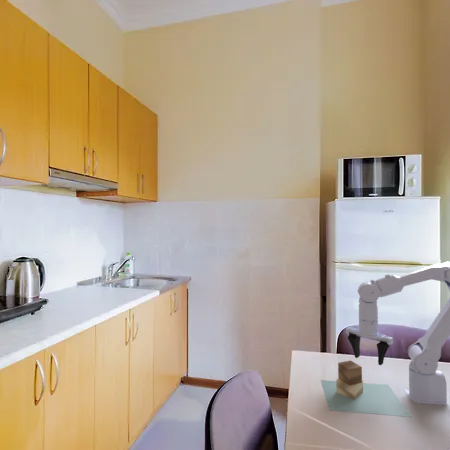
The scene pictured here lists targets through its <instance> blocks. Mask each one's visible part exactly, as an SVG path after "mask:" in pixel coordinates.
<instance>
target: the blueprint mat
mask: <svg viewBox="0 0 450 450" xmlns="http://www.w3.org/2000/svg"><path fill="white" fill-rule="evenodd" d="M320 382H321V386H322V388H323V392H324V394H325V395H324V396H325V400H326V402H327V405H328V408H329V411H335V412H345V413H347V412H348V413H359V414H369V415H370V414H372V415H380V416H381V415H382V416H395V417H407V418H412V415H411V414H410V412H409V411H408V410H407V409H406V407H405V406H404V405H403V403H402V401H401V400H400V398H398V396H397V395H396V393H395V391H393V389H392V387H391V386H390V385H389V384H385V383H384V384H383V383H382V384H381V383H370V382H369V383H367V382H363V393H362V394H361V395H360V396H359V397H358V398H356V399H355V400H354V399H352V398H349V397H347V396H344V395H342V394H339V393H337V392H336V380H323V379H321V380H320Z"/></svg>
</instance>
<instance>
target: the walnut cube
mask: <svg viewBox="0 0 450 450" xmlns="http://www.w3.org/2000/svg"><path fill="white" fill-rule="evenodd" d="M337 364H338V366H337V369H338V370H337V371H338V372H337V375H338V377H337V379H338V378H339V379H340V380H342V381H343V382H345V383H346V384H348V385H353V384H358V383H362V380H363V370H362V369H363V367H362V366H361V365H360V364H358V363H356V362H354V361H352V360H351V359H350V360H346V361H341V362H338V363H337Z"/></svg>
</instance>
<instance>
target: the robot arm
mask: <svg viewBox="0 0 450 450" xmlns="http://www.w3.org/2000/svg"><path fill="white" fill-rule="evenodd" d="M430 280H434V281H437V282H444V283H445V284H446V286H447V289H448V290H449V292H450V261H444V262H442V263H435V264H432V265H430V266H426V267H423V268H420V269H418V270H415V271H412V272H409V273H407V274H406V273H405V274H403V275H401V276H397V275H396V274H391V275H390V274H389V273H387V274H385V275H384V277H382V278H378V279H370V282H368V281H367V282H366V281H365V282H363V283H360V285H359V286H358V289H357V293H358V295H359V298H358V299H359V300H358V302H359V303H358V328H356V327H349V326H348V327H346V328H345V334H347V335H348V336H347V339H348V341H349V343H350V345H351V348H352V351H353V354H354V358H356V359H358V358H359V357H360V354H361V350H360V347H361V346H360V345H361V344H360V343H361V338H365V339H369V340H373V341H376V342H378V343H377V344H376V348H377V355H378V356H377V358H378V360H377V361H378V362H377V363H378V366H382V365H383V364H384V361H385V355H386V353H387V351H388V349H389V347H391V346H392V345H393V343H394V337H391V336H389V335H386V334H383V333H380V332H379V320H378V319H379V317H378V316H379V313H378V311H379V308H378V300H379V298H385V297H387V296H392V295H395V294H398V293H401V292H402V291H403V289H404V287H407V286H412V285H415V284H419V283H422V282H426V281H430ZM449 338H450V297H448V299H447V301H446V302H445V303H444V305H443V307H442V308H441V310H440V311H439V313H438V314H437V316H436V317H435V319H434V320H433V321H432V324H431V325H430V326H429V328H428V329H427V330H426V332H425V334H424V335H422V337H420V338H418V339H417V341H415V342H414V343H412V344H411V345H409V347H408V348H407V354H408V358H409V359H411V361H410V363H409V364H408V388H404V391H405V393H406V394H407V395H408V396H409V398H410V399H411V400H412V401H413V403H418V404H419V403H420V404H433V405H442V406H443V405H444V406H445V405H446V406H448V404H449V403H448V401H447V400H448V398H447V397H448V395H447V380H446V376H445V374H444V373H443V372H442V370H439V369H438V366H439V365H438V364H439V360H440V358H441V357H442V356H441V355H442V348H443V346H444V345H445V343H446V342H447V341H448V339H449Z"/></svg>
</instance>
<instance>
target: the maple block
mask: <svg viewBox="0 0 450 450" xmlns="http://www.w3.org/2000/svg"><path fill="white" fill-rule="evenodd" d="M335 381H336V392H337V393H339V394H342V395H344V396H347V397H349V398H352V399H354V400H355V399H356V398H358V397H359V396H360V395H361V394H362V393H363V383H364V379H362V383H358V384H353V385H348V384H346V383H345V382H343V381H342V380H340V379H339V378H338V377H337V378H336V380H335Z"/></svg>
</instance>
